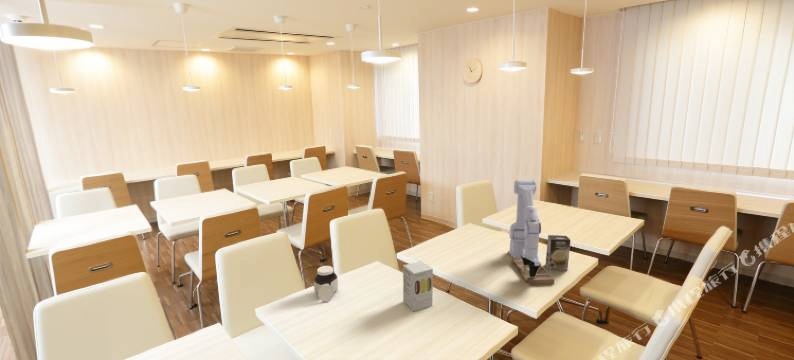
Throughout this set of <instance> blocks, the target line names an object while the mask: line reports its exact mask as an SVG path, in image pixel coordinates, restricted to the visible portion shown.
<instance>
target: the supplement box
mask: <svg viewBox="0 0 794 360" xmlns="http://www.w3.org/2000/svg"><path fill="white" fill-rule="evenodd" d="M433 269H434V268H432V267H431V266H429V265H428V264H427V263H425V262H424V261H422V260H420V261H416V262H411V263H408V264H403V265H402V275H403V276H402V278H403V279H402V281H403V283H402V285H403V287H402V289H403V290H402V292H403V296H402V297H403V299H402V301H403V303H405V305H406V306H407V307H409V309H410V310H411V311H412V312H416V311H419V310H423V309H426V308H429V307H432V306H433V289H434V288H433V287H434V286H433V284H434V282H433V281H434V280H433V278H434V270H433Z"/></svg>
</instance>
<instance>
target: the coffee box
mask: <svg viewBox="0 0 794 360" xmlns="http://www.w3.org/2000/svg"><path fill="white" fill-rule="evenodd" d="M571 242H572V241H571V238H569V236H567V235H559V234H558V235H556V234H555V235H554V234H552V235H551V234H548V235H547V243H546V244H547V245H546V255H545V256H546V257H545V266H546V267H547V270H550V271H568V270H569V259H570V250H571V249H570V248H571Z"/></svg>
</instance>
